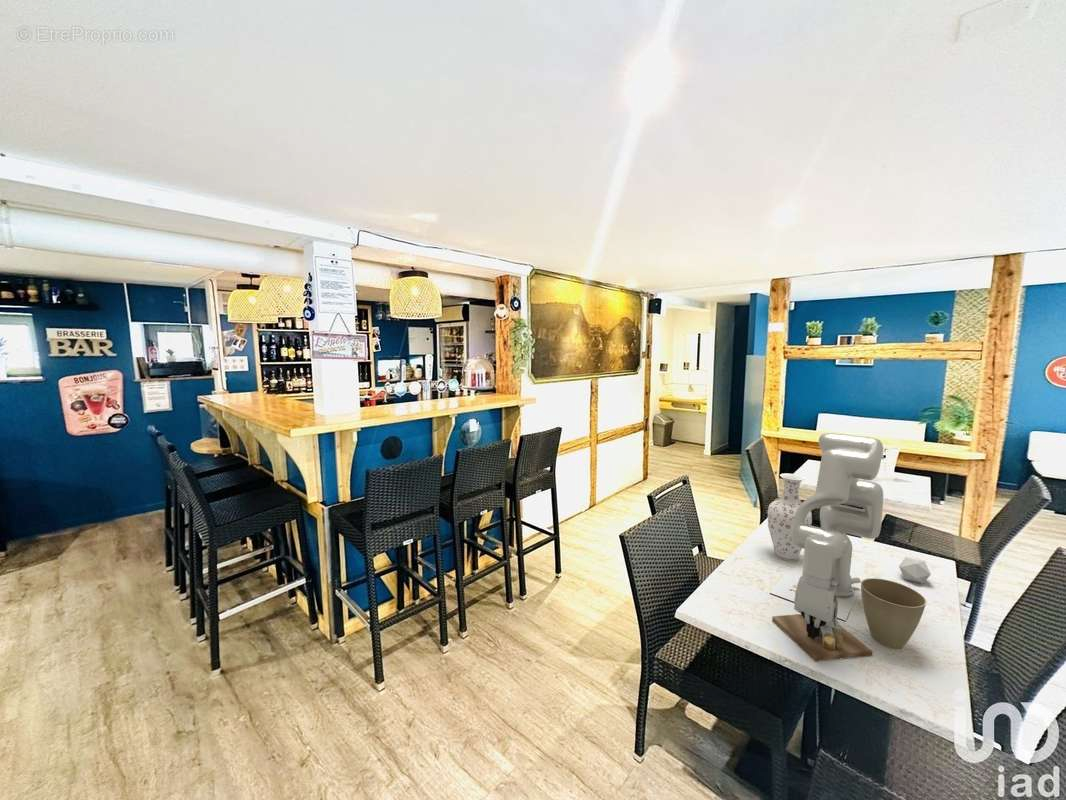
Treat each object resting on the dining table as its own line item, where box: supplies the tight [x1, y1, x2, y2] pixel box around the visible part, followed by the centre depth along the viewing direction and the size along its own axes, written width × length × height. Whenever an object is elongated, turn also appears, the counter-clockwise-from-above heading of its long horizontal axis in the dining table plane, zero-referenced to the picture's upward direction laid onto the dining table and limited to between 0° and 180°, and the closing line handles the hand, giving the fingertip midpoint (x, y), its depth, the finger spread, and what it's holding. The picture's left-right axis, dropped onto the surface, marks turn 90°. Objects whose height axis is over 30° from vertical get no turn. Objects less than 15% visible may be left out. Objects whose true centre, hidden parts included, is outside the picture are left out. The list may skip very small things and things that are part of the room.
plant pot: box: [860, 577, 927, 650], centre depth 127 cm, size 15×15×16 cm
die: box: [898, 556, 931, 584], centre depth 161 cm, size 8×9×10 cm
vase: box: [767, 472, 813, 562], centre depth 178 cm, size 16×16×35 cm
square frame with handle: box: [813, 616, 841, 650], centre depth 128 cm, size 15×8×4 cm, turn 155°
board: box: [771, 613, 874, 662], centre depth 129 cm, size 18×18×8 cm
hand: (812, 636), depth 126 cm, fingers closed
